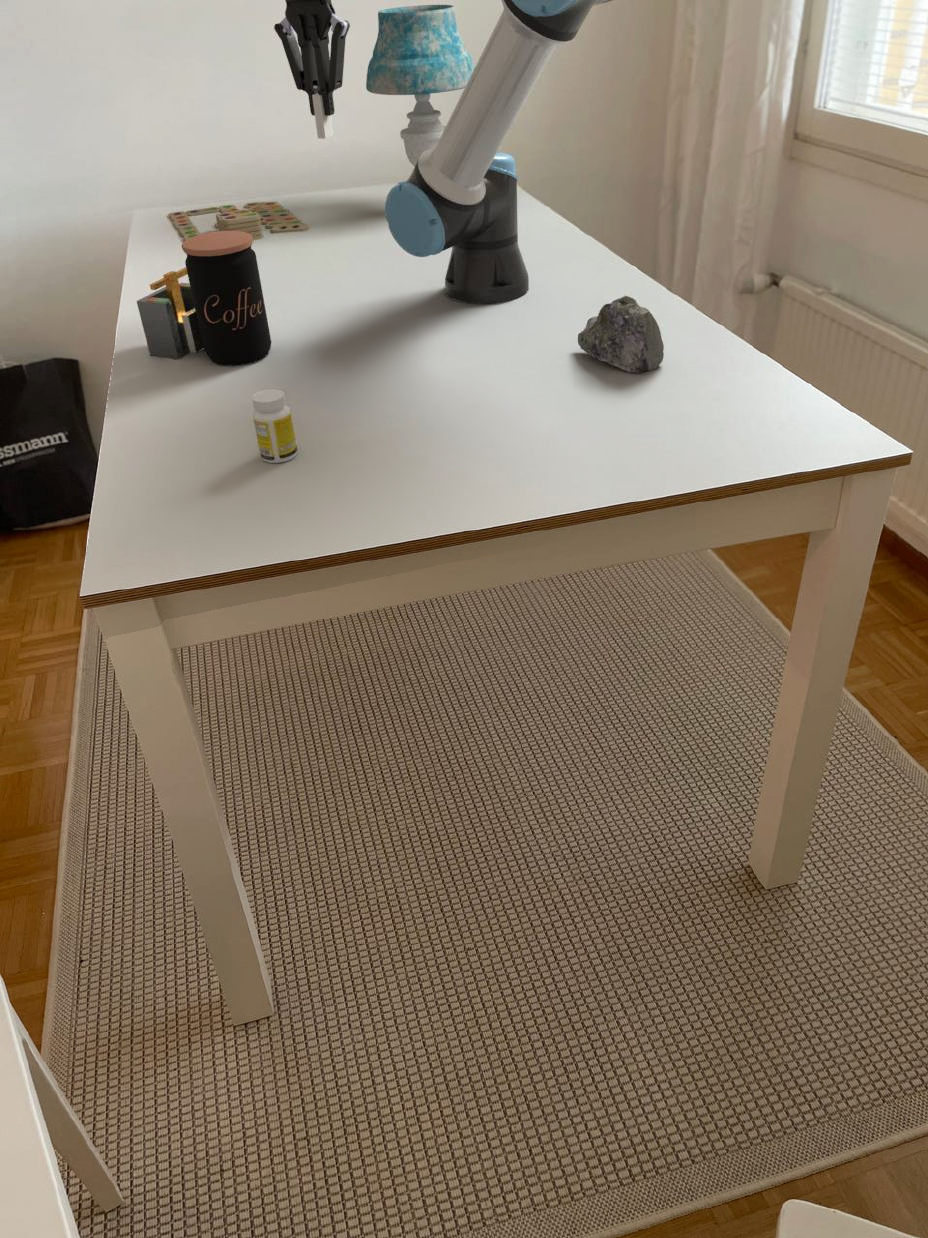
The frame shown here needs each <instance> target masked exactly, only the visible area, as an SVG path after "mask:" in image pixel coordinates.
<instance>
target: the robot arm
mask: <svg viewBox="0 0 928 1238" xmlns="http://www.w3.org/2000/svg"><path fill="white" fill-rule="evenodd" d="M284 1H285V3H286V4H285V5H286V7H285V12H284V13H285V14H284V15H285V17H284V18H282V20H281V21H280V22H279V23H275V24H274V27H273V28H274V32H275V33H276V34H277V36H278V38H279V40H281V44H282V47H283V49H284V53H285V56H286V59H287V62H288V65H289V68H290V71H291V75H292V78H293V81H294V85H295V87H296V89H297V90H299V91H303V92H305V93H306V94H307V96H308V103H309V109H310V114H311V116H314V120H315V127H316V134H317V135H316V136H317V139H323V140H327V138H331V137H334V128H333V120H332V118H333V117H332V115H334V114H335V105H334V104H335V102H334V98H333V97H334V91H336V90H338V89H341V88H342V87H343V80H344V79H343V78H344V68H345V67H344V65H345V51H346V50H345V49H346V38H347V35H348V32H349V30H350V27H351V25H350V22H349V20H343V19H342V18H340V16H337V15H336V11H335V8H334V5H333V3H332V0H284ZM613 1H614V0H501V3H502V7H503V11H502V12H501V13H500V16H499V18H498V20H497V22H496V25H495V27H494V28H493V30H492V33H491V35H490V36H489V39H488V41H487V42H486V45H485V47H484V48H483V51H482V52H481V55H480V57H479V58H478V61H477V63H476V65H475V66H474V68H475V69H474V71H473V73H472V75H471V77H470V79H469V81H468V83H467V85H466V87H465V88H463V91H462V93H461V95H460V97H459V99H458V102H457V104H456V105H455V108H454V110H453V111H452V114H451V116H450V117H449V119H448V122H447V124H446V125H445V126H446V127H445V129H444V131H443V133H442V135H441V137H440V139H439V141H438V143H437V145H436V147H435V148H434V149H428V150H426V151H424V152H423V153H422V154H421V156H420V157H419V159H418V161H417V164H416V166H414V168H413V170H412V171H411V175H410V176H409V178H408V179H407V180H406V181H400V182H397V184H396V185H394V186H393V187H392V188H391V189H390V190H389V192H388V193H387V196H386V200H385V204H384V205H385V206H384V214H385V219H386V222H387V224H388V230H389V232H390V233H391V234H390V235H391V236H392V237H393V239H394V241H395V242H396V243H397V245H398V246H399V247H400V248H401V249H403V251H405V252H406V253H407V254H409V255H411V256H413V257H418V258H426V257H427V258H428V257H429V256H436V255H437V254H440V253H442V252H443V251H446V250H448V249H451V253H450V257H449V260H448V265H447V269H446V272H445V273H446V274H445V276H444V290H445V291H444V292H445V295H446V296H447V297H448V298H450V299H452V300H455V301H456V302H461V303H469V304H492V303H493V304H494V303H499V302H500V303H501V302H505V301H506V302H507V301H509V300H513V299H516V298H520V297H521V296H523V295H525V294H526V293H527V292H528V291H529V286H530V285H529V283H530V282H529V280H530V279H529V273H528V270H527V267H526V265H525V264H526V263H525V262H524V259H523V256H522V252H521V250H520V246H519V237H518V231H519V230H518V229H519V228H518V224H519V223H518V190H517V189H518V187H517V185H518V183H517V181H518V175H517V167H516V161H515V159H514V157H513V156H512V155H511V154H508V153H506V152H499V151H500V150H501V149H500V148H501V147H502V145H503V143H504V142H505V140H506V138H507V136H508V135H509V133H510V131H511V129H512V127H513V125H514V123H515V121H516V120H517V118H518V116H519V115H520V113H521V111H522V109H523V108H524V105H525V104H526V102H527V100H528V98H529V96H530V95H531V93H532V91H533V89H534V88H535V86H536V84H537V82H538V80H539V79H540V77H541V75H542V74H543V71H544V69H545V68H546V66H547V64H548V62H549V61H550V59H551V57H552V55H553V53H554V52H555V50H556V48H557V47H558V46H560V45H564V44H569V43H571V42H573V40H574V39H575V38H576V35H577V34H578V32H579V30H580V28H581V27H582V25H583V24H584V22H585V20H586V18H587V16H588V15H589V13H590V11H591V9H592V8H593V6H597V5H600V4H606V3H611V2H613ZM329 31H331V32H332V34H331V38H329V37H330V36H329ZM294 32H295V33H296V35H295V33H294ZM296 37H297V38H296ZM330 39H331V41H330ZM329 44H330V51H329Z"/></svg>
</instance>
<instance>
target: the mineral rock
mask: <svg viewBox="0 0 928 1238" xmlns="http://www.w3.org/2000/svg"><path fill="white" fill-rule="evenodd" d="M586 321H587V323H586V324H585V327H584V328H583V330H582V331H580V332H579V333H578V334H577V343H578V346H579V347H580V349H581V350H583V351H584V352H585V353H587V355H589V356H591V357H593V358H595V359H597V360H599V361H601V362H607V363H608V364H610V366H613V367H614V366H615V367H616V368H619V369H620V370H624V371H626V372H628V373H635V374H640V373H642V372H644V371H648V370H649V371H652V370H655V369H657V367H659V366H660V365H661V364H662V363H663V360H664V356H665V354H664V349H665V345H664V342H663V339H662V334H661V330H660V326H659V324H658V322H657V320H656V318H655V317H654V315H653V314H652V313H651V311H650V310H649V309H648V308H647V307H643V306H640V304H638V302H637V300H636V299H635V298H634V297H630V296H628V295H623V296H622V297H619V298H616V299H614V300H612V301H611V302H610V303H605V304H604V305H603V306H602V307H601V309H600V310H599V311H598V314H597V315H595V316H592V317H590V318H589V319H588V320H586Z"/></svg>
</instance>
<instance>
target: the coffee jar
mask: <svg viewBox="0 0 928 1238" xmlns="http://www.w3.org/2000/svg"><path fill="white" fill-rule="evenodd" d="M253 242H254V240H253V237H252V235H251V234H249V233H246V232H242V231H219V230H218V231H210V232H205V233H200V235H197V236H194V237H191V238H189V239H187V240H185V241H182V244H181V250H182V251H183V253H184V254H185V255H186V258H185V263H184V264H185V267H186V269H187V277H188V281H189V283H190V287H191V292H192V296H193V301H194V306H195V310H196V315H197V319H198V324H199V328H200V333H201V337H202V342H203V347H204V349H203V350H204V354H205V356H206V357H207V358H208V359H209V360H210V361H211V362H212V363H213V364H216V365H218V366H223V367H236V366H239V367H240V366H245V365H249V364H253V363H256V362H259V361H261V360H263V359H265V358H266V357H267V356H268V355H269V352H270V351H271V347H272V339H271V331H270V327H269V322H268V316H267V310H266V305H265V299H264V294H263V287H262V283H261V282H262V281H261V277H260V271H259V265H258V259H257V254H256V252H255V250H254V249H252V246H253Z"/></svg>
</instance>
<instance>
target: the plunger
mask: <svg viewBox="0 0 928 1238" xmlns="http://www.w3.org/2000/svg"><path fill="white" fill-rule="evenodd" d="M162 276H163V278H161V279H159V280H157V281H154V282H152V283H150V284H149V288H150V290H152V291H157V290H159V289H161V288H164V286H165V287H166V289H167V293H168V297H169V299H170V301H171V302H172V306H173V311H174V315H175V319H176V324H177V328H178V332H179V336H180V341H181V345H182V346H184V347H189V349H190V353H198V352H200V351H202V350H204V347H203V342H202V337H201V333H200V328H199V324H198V319H197V315H196V310H195V308H194V309H192V310H190V311H188V312H185V308H184V304H183V299H182V295H181V290H180V286H179V284H180V283H179V279H182V278H183V277H185V276H188V274H187V269H186V266H185V267H184V268H181V269H179V270H177V271H175V270H171V271H169V272H166V273H165V274H163V275H162Z"/></svg>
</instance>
